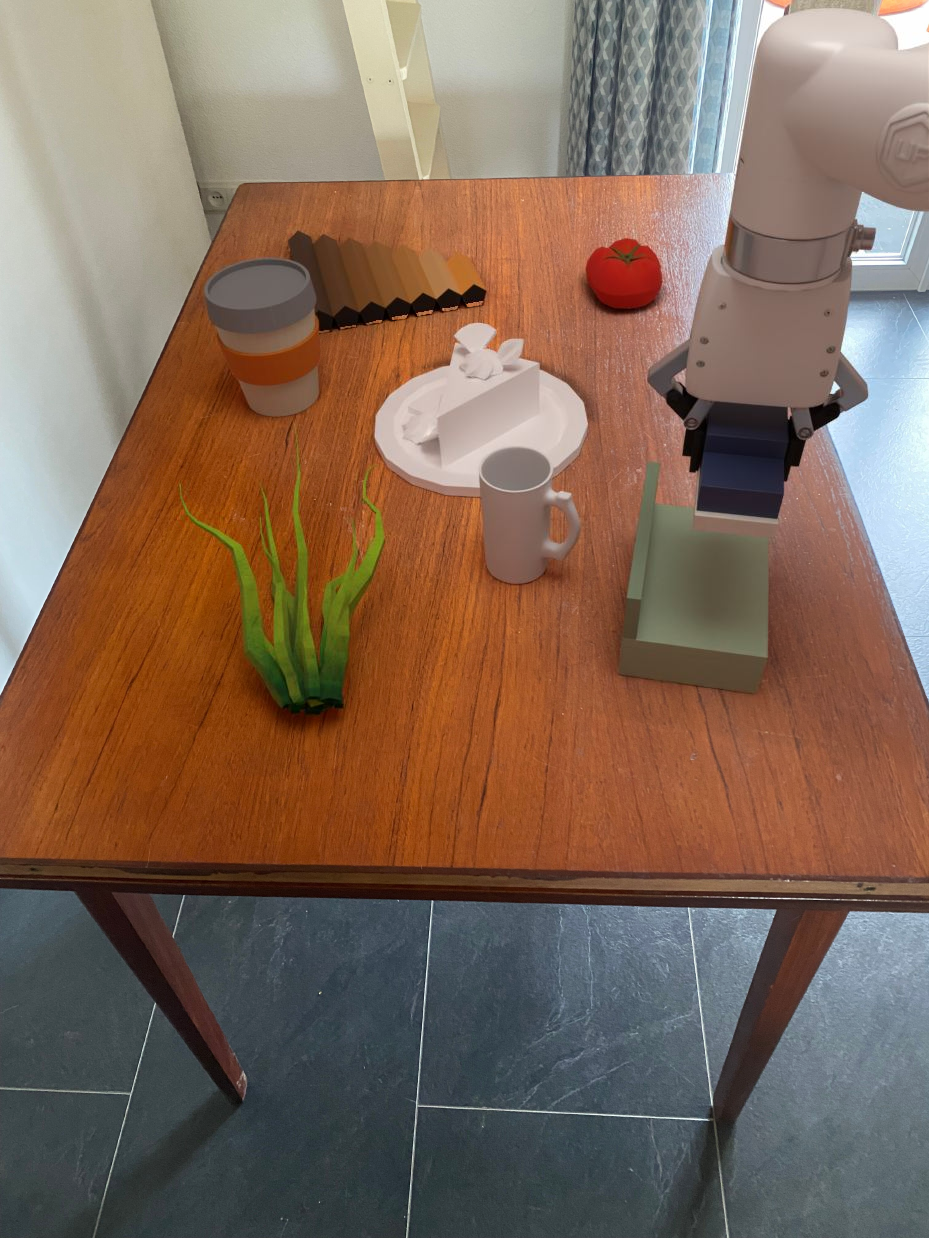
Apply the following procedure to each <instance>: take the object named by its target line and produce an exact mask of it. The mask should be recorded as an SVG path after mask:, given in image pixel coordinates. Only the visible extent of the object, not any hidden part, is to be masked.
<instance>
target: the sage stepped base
mask: <svg viewBox="0 0 929 1238" xmlns="http://www.w3.org/2000/svg"><path fill="white" fill-rule="evenodd" d="M660 468H661V462H656V461H647V462H646V468H645V473H644V474H645V476H644V480H643V481H644V482H643V488H642V493H641V494H642V495H641V502H640V508H639V514H638V519H637V520H638V521H637V527H636V534H635V540H634V547H633V553H632V558H631V560H632V561H631V567H630V573H629V578H628V585H627V592H626V598H625V608H624V618H623V625H622V634H621V642H620V651H619V662H618V671H617V675H620V676H626V677H633V678H641V679H648V680H655V681H661V682H669V683H676V684H682V685H689V686H698V687H704V688H710V689H718V690H724V691H732V692H739V693H747V694H752V695H757V694H758V691H759V688H760V684H761V681H762V678H763V674H764V671H765V668H766V665H767V661H768V658H769V580H770V579H769V577H770V576H769V574H770V571H769V570H770V567H769V565H770V538H763V537H754V536H745V535H736V534H727V533H717V532H708V531H699V530H692V524H693V513H694V507H691V506H682V505H673V504H663V503H656V498H657V491H658V484H659V477H660Z"/></svg>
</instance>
